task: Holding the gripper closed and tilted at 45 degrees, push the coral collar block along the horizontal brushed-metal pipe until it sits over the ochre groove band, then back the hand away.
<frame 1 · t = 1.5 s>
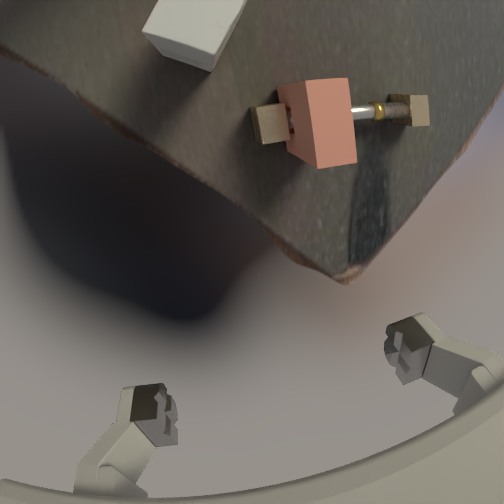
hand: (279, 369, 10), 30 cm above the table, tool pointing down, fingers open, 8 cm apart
pipe rig: (338, 111, 35), on the table
small box: (200, 35, 28), on the table
collar: (313, 118, 29), point 6 cm above the table, slide at 0.0 cm
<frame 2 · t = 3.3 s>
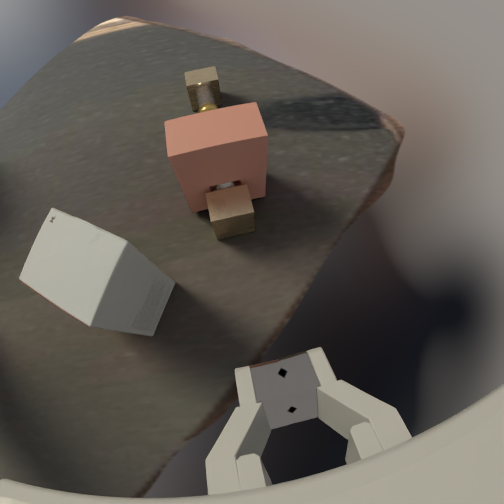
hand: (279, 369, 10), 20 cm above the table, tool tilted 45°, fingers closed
pipe rig: (217, 152, 36), on the table
small box: (133, 295, 31), on the table
collar: (220, 162, 29), point 6 cm above the table, slide at 0.0 cm
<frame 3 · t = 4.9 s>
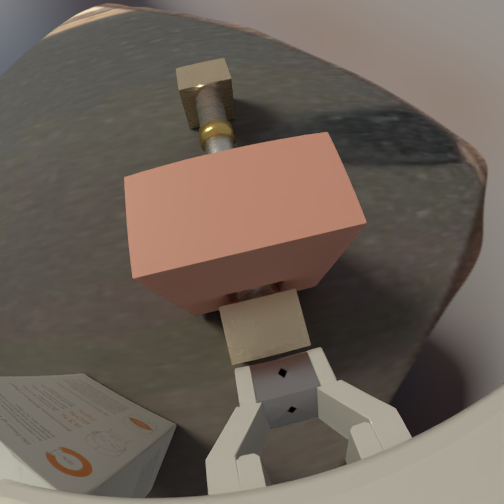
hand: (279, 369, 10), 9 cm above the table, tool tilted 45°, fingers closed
pipe rig: (231, 202, 23), on the table
small box: (116, 433, 18), on the table
collar: (245, 246, 15), point 6 cm above the table, slide at 0.0 cm
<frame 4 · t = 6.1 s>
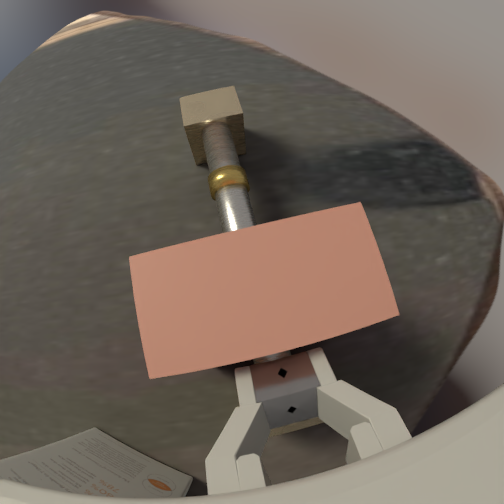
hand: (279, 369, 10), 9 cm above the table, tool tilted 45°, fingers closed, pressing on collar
pipe rig: (244, 253, 21), on the table
small box: (132, 482, 16), on the table
collar: (261, 309, 14), point 6 cm above the table, slide at 0.8 cm, touching gripper
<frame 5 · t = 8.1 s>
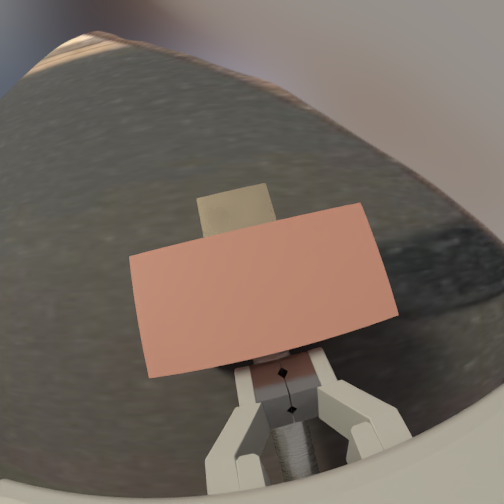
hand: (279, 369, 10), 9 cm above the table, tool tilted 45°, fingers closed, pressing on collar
pipe rig: (275, 380, 19), on the table
collar: (261, 309, 14), point 6 cm above the table, slide at 9.5 cm, touching gripper
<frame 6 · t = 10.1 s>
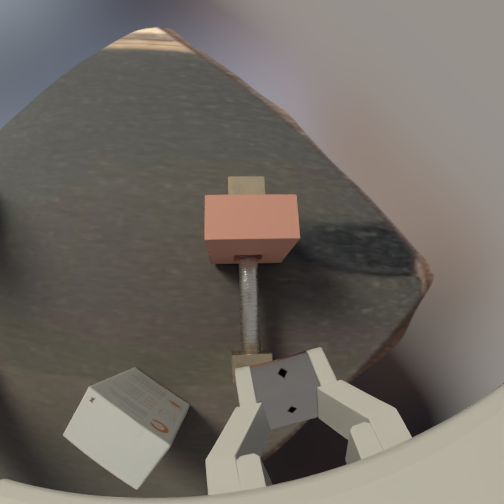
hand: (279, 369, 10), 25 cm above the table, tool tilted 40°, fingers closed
pipe rig: (246, 281, 36), on the table
small box: (149, 405, 32), on the table
collar: (248, 233, 31), point 6 cm above the table, slide at 9.6 cm
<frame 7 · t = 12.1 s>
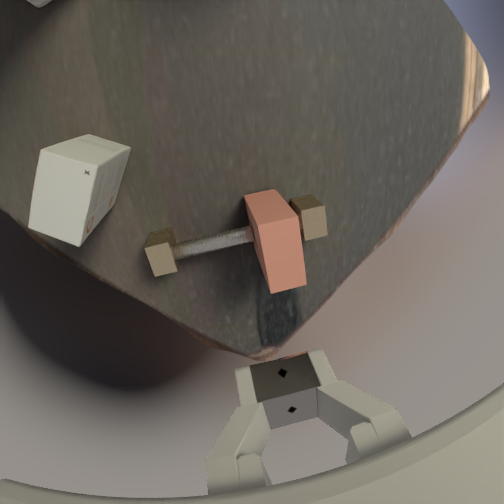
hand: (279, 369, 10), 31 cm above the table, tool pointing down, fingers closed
pipe rig: (234, 226, 41), on the table
small box: (101, 169, 35), on the table
collar: (273, 236, 36), point 6 cm above the table, slide at 9.6 cm
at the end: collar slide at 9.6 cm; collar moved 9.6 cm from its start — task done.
